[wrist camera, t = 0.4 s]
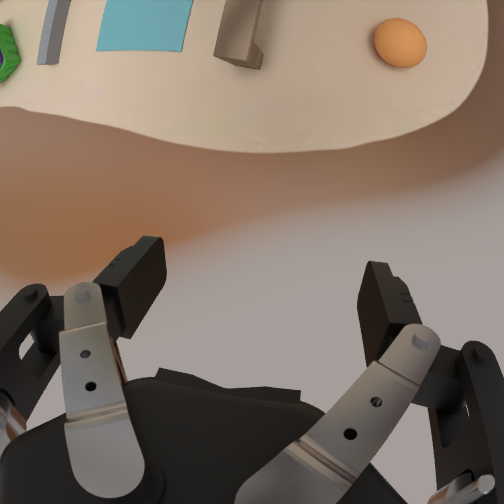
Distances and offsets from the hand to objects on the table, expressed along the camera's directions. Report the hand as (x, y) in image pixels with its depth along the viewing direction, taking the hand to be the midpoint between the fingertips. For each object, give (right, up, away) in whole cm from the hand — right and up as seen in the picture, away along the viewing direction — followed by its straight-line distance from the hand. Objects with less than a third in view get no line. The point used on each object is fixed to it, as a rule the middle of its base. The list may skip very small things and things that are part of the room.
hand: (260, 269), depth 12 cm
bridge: (+1, +28, +16) cm, 33 cm away
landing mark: (-14, +32, +17) cm, 39 cm away
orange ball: (+16, +23, +13) cm, 31 cm away
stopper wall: (-29, +36, +17) cm, 49 cm away
